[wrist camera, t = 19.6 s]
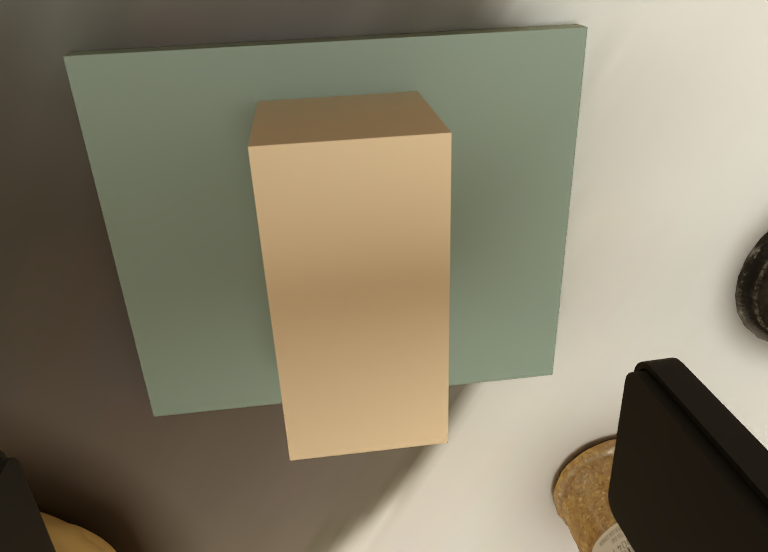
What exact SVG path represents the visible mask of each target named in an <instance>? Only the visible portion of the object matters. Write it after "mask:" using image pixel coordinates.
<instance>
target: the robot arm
mask: <svg viewBox="0 0 768 552" xmlns="http://www.w3.org/2000/svg"><path fill="white" fill-rule="evenodd" d="M608 501H609V506H610V509H611V512H612V514H613V516H614V518H615V520H616V522H617V523H618V525H619V527H620V528H621V530H622V532H623V533H624V535H625V537H626V538H627V540H628V542H629V543H630V545H631V547H632V548H633V550H634V552H768V450H767V449H766V448H765V447H764V446H763V445H762V444H761V443H760V442H759V441H758V440H757V439H756V438H755V437H754V436H753V435H752V434H751V433H750V432H749V431H748V430H747V429H746V427H745V426H744V425H743V424H742V423H741V422H740V421H739V420H738V419H737V418H736V417H735V416H734V415H733V414H732V413H731V412H730V411H729V410H728V409H727V408H726V407H725V406H724V405H723V404H722V403H721V402H720V401H719V400H718V399H717V398H716V397H715V396H714V395H713V394H712V393H711V392H710V391H709V390H708V388H707V387H706V386H705V385H704V384H703V383H702V382H701V381H700V380H699V379H698V378H697V377H696V376H695V375H694V374H693V373H692V372H691V371H690V370H689V369H688V368H687V367H686V366H685V365H684V364H683V363H682V362H681V361H680V360H678V359H677V358H666V359H659V360H651V361H644V362H640V363H638V364H637V365H636V367H635V370H634V372H631V373H628V375H627V376H626V380H625V385H624V392H623V398H622V405H621V411H620V418H619V424H618V431H617V437H616V444H615V450H614V457H613V463H612V470H611V477H610V483H609V490H608ZM0 552H56V551H55V548H54V546H53V543H52V541H51V538H50V536H49V533H48V531H47V529H46V526H45V524H44V521H43V519H42V516H41V514H40V511H39V509H38V506H37V504H36V501H35V499H34V496H33V494H32V492H31V489H30V487H29V484H28V482H27V479H26V477H25V474H24V472H23V469H22V467H21V464H20V463H19V461H18V460H17V459H16V458H7V456H6V455H5V453H4V452H2V451H1V450H0Z"/></svg>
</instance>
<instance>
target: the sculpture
mask: <svg viewBox="0 0 768 552" xmlns="http://www.w3.org/2000/svg"><path fill="white" fill-rule="evenodd" d="M40 514H41V516H42V519H43V521H44V524H45V526H46V529H47V531H48V533H49V536H50V538H51V541H52V543H53V546H54V548H55V551H56V552H116V551H115V550H114V549H113V547H112V546H111V545H109V544H108V543H107V542H106V541H105V540H103V539H102V538H100V537H99V536H97V535H95V534H93V533H92V532H90V531H88V530H86V529H84V528H82V527H80V526H77V525H74V524H69V523H67V522H65V521H63V520H61V519H58V518H56V517H54V516H51V515H48V514H45V513H43V512H40Z"/></svg>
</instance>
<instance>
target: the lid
mask: <svg viewBox="0 0 768 552" xmlns="http://www.w3.org/2000/svg"><path fill="white" fill-rule="evenodd" d="M586 37H587V27H585V26H582V25H578V24H571V25H553V26H535V27H516V28H498V29H479V30H461V31H443V32H424V33H406V34H388V35H369V36H351V37H332V38H314V39H296V40H277V41H259V42H240V43H222V44H204V45H185V46H167V47H149V48H130V49H112V50H93V51H75V52H70V53H68V54H67V55H65V56H63V58H64V62H65V66H66V70H67V74H68V78H69V82H70V86H71V90H72V94H73V98H74V102H75V106H76V110H77V114H78V118H79V122H80V126H81V130H82V134H83V138H84V142H85V146H86V150H87V153H88V157H89V161H90V165H91V169H92V173H93V177H94V181H95V185H96V189H97V193H98V197H99V201H100V205H101V209H102V213H103V217H104V221H105V225H106V229H107V233H108V237H109V241H110V245H111V249H112V253H113V257H114V261H115V265H116V268H117V272H118V276H119V280H120V284H121V288H122V292H123V296H124V300H125V304H126V308H127V312H128V316H129V320H130V324H131V328H132V332H133V336H134V340H135V344H136V348H137V352H138V356H139V360H140V364H141V368H142V372H143V376H144V380H145V384H146V387H147V391H148V395H149V399H150V403H151V407H152V411H153V415H154V417H156V416H165V415H175V414H184V413H194V412H203V411H213V410H222V409H232V408H241V407H251V406H260V405H269V404H279V403H282V404H283V412H284V419H285V426H286V434H287V441H288V449H289V456H290V460H299V459H308V458H316V457H325V456H334V455H343V454H352V453H360V452H369V451H378V450H387V449H396V448H404V447H413V446H422V445H431V444H440V443H448V389H449V386H450V385H459V384H469V383H478V382H488V381H497V380H507V379H516V378H526V377H535V376H545V375H552V372H553V362H554V353H555V343H556V333H557V323H558V313H559V303H560V293H561V284H562V274H563V264H564V254H565V244H566V234H567V224H568V214H569V205H570V195H571V185H572V175H573V165H574V155H575V145H576V136H577V126H578V116H579V106H580V96H581V86H582V76H583V67H584V57H585V47H586Z"/></svg>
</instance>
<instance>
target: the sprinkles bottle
mask: <svg viewBox="0 0 768 552" xmlns="http://www.w3.org/2000/svg"><path fill="white" fill-rule="evenodd" d="M615 444H616V439H613V440H609V441H605V442H603V443H601V444H598V445H596V446H594V447H592V448H589V449H587V450H586V451H584V452H583V453H581V454H580V455H579V456H577V457H576V458H575V459H573V460H572V461H571V462H570V463H569V464H568V465H567V466H566V467H565V468H564V470H563V471H562V472H561V474H560V477H559V479H558V481H557V483H556V487H555V490H554V502H555V506H556V509H557V512H558V514H559V516H560V517H561V518H562V519H563V521H564V522H565V524H566V525H567V526H568V527H569V529H570V532H571V534H572V536H573V538H574V540H575V542H576V544H577V546H578V549H579V551H580V552H634V550H633V548H632V547H631V545H630V543H629V542H628V540H627V538H626V537H625V535H624V533H623V532H622V530H621V528H620V527H619V525H618V523H617V522H616V520H615V518H614V516H613V514H612V512H611V509H610V506H609V501H608V490H609V483H610V477H611V470H612V463H613V457H614V450H615Z"/></svg>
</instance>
